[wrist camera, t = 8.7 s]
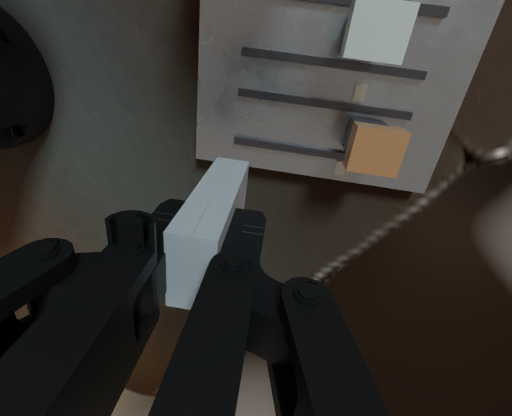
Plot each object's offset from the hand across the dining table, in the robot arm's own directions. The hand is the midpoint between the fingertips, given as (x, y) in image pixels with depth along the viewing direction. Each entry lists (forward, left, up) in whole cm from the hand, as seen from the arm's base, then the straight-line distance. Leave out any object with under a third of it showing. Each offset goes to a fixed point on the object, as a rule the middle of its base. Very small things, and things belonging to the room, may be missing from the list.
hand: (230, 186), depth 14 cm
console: (+5, +4, -19) cm, 20 cm away
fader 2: (+10, 0, -17) cm, 19 cm away
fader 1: (+7, +8, -17) cm, 20 cm away
